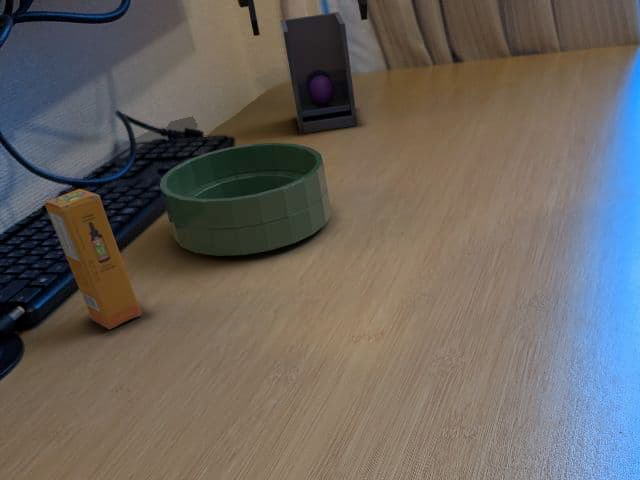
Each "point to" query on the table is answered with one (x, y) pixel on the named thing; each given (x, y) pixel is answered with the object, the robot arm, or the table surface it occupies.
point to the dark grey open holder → (319, 70)
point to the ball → (321, 90)
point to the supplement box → (93, 257)
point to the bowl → (246, 198)
